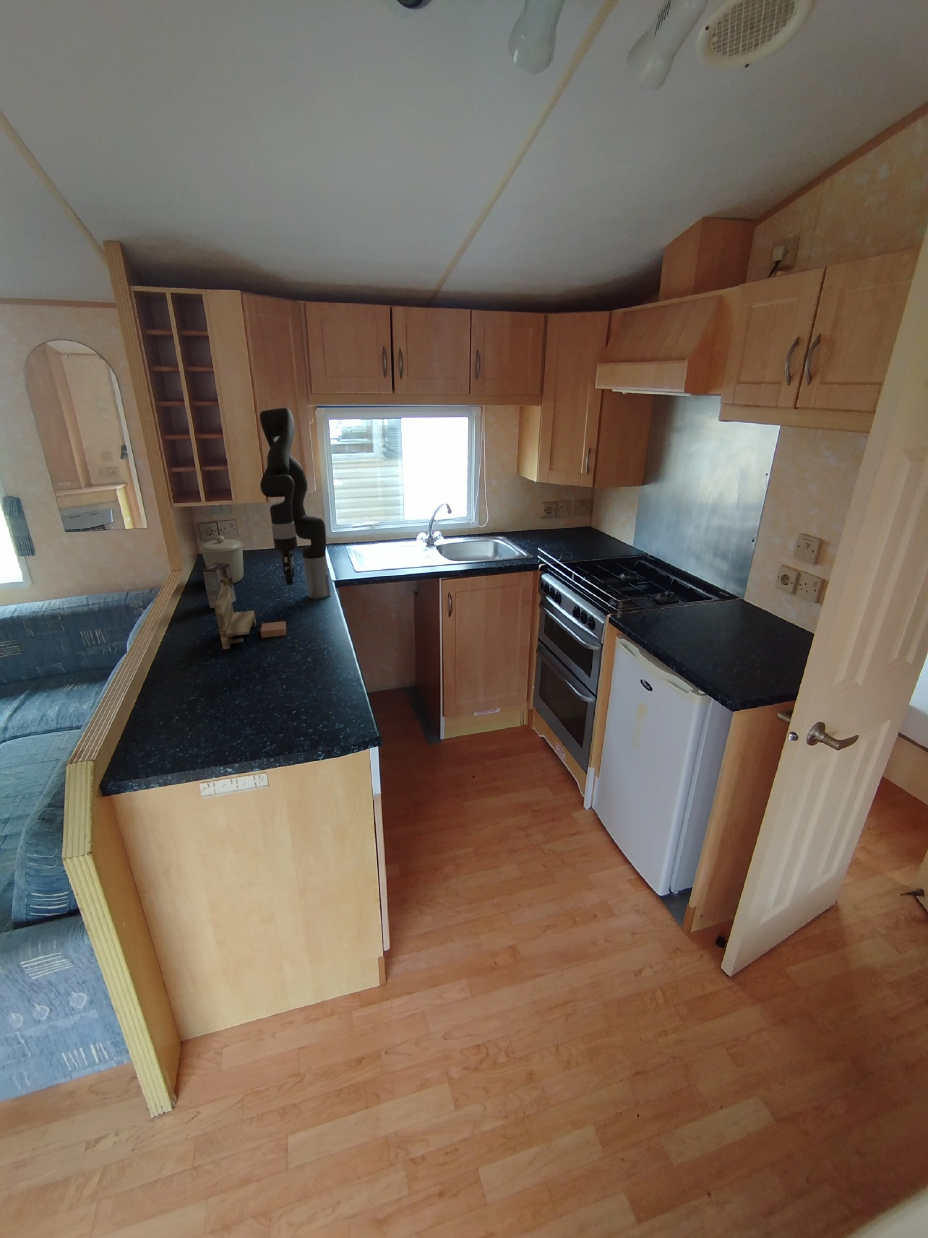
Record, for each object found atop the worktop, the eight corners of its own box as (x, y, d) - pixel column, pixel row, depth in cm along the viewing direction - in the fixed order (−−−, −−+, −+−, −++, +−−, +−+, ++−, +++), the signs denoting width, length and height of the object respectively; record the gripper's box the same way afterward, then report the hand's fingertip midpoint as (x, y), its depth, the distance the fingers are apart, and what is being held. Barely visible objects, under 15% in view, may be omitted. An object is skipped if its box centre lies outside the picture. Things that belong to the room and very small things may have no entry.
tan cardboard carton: (286, 627, 204) (285, 621, 203) (285, 635, 198) (284, 628, 197) (263, 629, 202) (262, 623, 201) (261, 637, 196) (260, 631, 195)
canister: (256, 580, 253) (249, 535, 245) (217, 590, 241) (208, 543, 233) (237, 572, 264) (229, 528, 256) (199, 581, 252) (190, 536, 244)
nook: (256, 624, 207) (249, 583, 200) (251, 645, 190) (243, 602, 183) (230, 627, 205) (222, 586, 199) (223, 649, 188) (214, 605, 182)
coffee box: (222, 599, 231) (215, 562, 225) (236, 600, 230) (229, 563, 224) (209, 607, 223) (201, 569, 216) (223, 608, 222) (216, 570, 215)
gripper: (294, 539, 183) (300, 586, 189) (297, 529, 196) (302, 573, 202) (271, 541, 181) (277, 588, 188) (274, 531, 194) (281, 575, 200)
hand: (290, 580), depth 195 cm, fingers open, 8 cm apart
